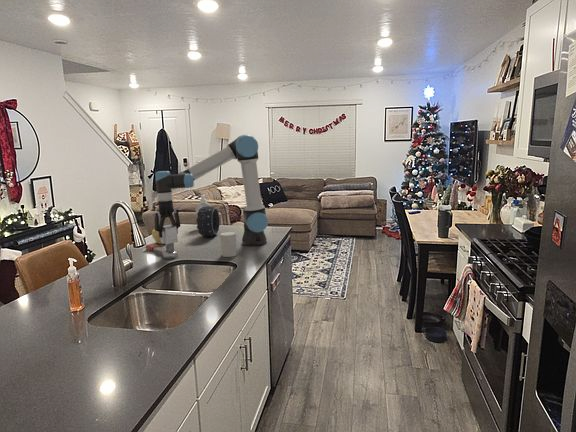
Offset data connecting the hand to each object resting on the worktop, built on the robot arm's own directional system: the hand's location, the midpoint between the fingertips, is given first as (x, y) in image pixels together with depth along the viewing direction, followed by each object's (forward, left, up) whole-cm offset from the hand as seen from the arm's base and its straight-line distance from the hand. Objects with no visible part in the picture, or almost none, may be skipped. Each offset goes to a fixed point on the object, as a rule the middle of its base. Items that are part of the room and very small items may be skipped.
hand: (169, 241), depth 211 cm
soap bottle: (+21, -69, -9) cm, 73 cm away
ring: (+5, -48, -9) cm, 49 cm away
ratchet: (+10, -5, -9) cm, 14 cm away
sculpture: (+25, -26, -9) cm, 37 cm away
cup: (-30, -12, -9) cm, 34 cm away
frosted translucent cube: (0, 0, 0) cm, 0 cm away
